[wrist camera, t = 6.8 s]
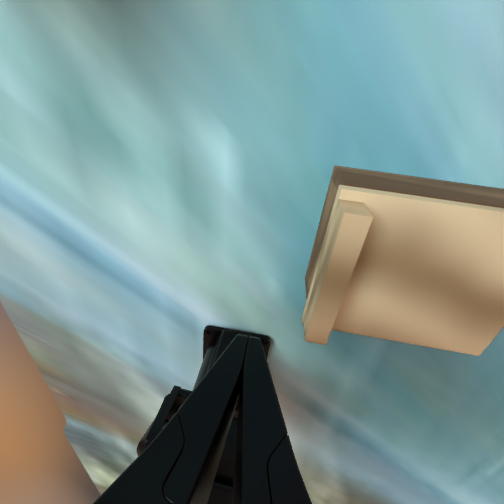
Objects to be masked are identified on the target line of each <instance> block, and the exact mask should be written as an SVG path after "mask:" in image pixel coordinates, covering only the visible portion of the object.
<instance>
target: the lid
mask: <svg viewBox="0 0 504 504" xmlns="http://www.w3.org/2000/svg"><path fill="white" fill-rule="evenodd" d="M302 325H304V329H305V341H307V342H312V343H318V344H323V345H326V343H327V341H328V338H329V335H330V332H331V330H336V331H342V332H347V333H353V334H359V335H364V336H370V337H376V338H381V339H387V340H392V341H398V342H404V343H409V344H415V345H420V346H426V347H432V348H437V349H443V350H449V351H454V352H460V353H465V354H471V355H477V356H480V354H481V353H482V352H483V351H484V350H485V348H486V347H487V346H488V345H489V344H490V342H491V341H492V340H493V339H494V338H495V337H496V335H497V334H498V333H499V332H500V331H501V329H502V328H503V327H504V208H498V207H491V206H484V205H477V204H471V203H464V202H457V201H450V200H443V199H436V198H429V197H422V196H415V195H408V194H401V193H394V192H387V191H380V190H373V189H366V188H359V187H352V186H345V185H339V187H338V190H337V194H336V198H335V201H334V205H333V208H332V212H331V215H330V219H329V223H328V226H327V230H326V233H325V237H324V240H323V244H322V248H321V251H320V255H319V258H318V262H317V265H316V269H315V273H314V276H313V280H312V283H311V287H310V291H309V294H308V298H307V301H306V305H305V308H304V312H303V316H302Z"/></svg>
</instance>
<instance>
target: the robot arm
mask: <svg viewBox="0 0 504 504" xmlns="http://www.w3.org/2000/svg"><path fill="white" fill-rule="evenodd" d="M269 346H270V338H269V337H268V336H264V335H258V334H253V333H247V332H242V331H236V330H231V329H225V328H220V327H214V326H206V327H205V329H204V338H203V363H202V366H201V368H200V371H199V374H198V377H197V380H196V383H195V386H194V389H193V391H189V390H185V389H181V387H179V386H174V387H173V389H172V391H171V393H170V394H168V395H167V396H165V398H164V401H163V403H162V405H161V408H160V410H159V412H158V414H157V416H156V418H155V419H154V421H153V422H152V424H151V425H150V427H149V428H148V430H147V431H146V433H145V434H144V436H143V437H142V439H141V440H140V442H139V444H138V447H137V454H138V458H137V459H136V460H135V461H134V462H133V463H132V464H131V465H130V466H129V467H128V468H127V469H126V470H125V471H124V472H123V473H122V474H121V475H120V476H119V477H118V478H117V479H116V480H115V481H114V482H113V483H112V485H111V486H110V487H109V488H108V489H107V490H106V491H105V492H104V493H103V494H102V495H101V496H100V497H99V498H98V499H97V500H96V501H95V502H94V503H93V504H312V502H311V500H310V497H309V495H308V492H307V490H306V487H305V484H304V482H303V479H302V476H301V474H300V471H299V468H298V465H297V462H296V459H295V456H294V452H293V449H292V446H291V442H290V439H289V436H288V435H287V434H288V433H287V429H286V426H285V422H284V419H283V415H282V412H281V408H280V405H279V401H278V398H277V394H276V391H275V387H274V384H273V380H272V377H271V374H270V370H269V367H268V363H267V356H268V351H269Z"/></svg>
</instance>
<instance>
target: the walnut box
mask: <svg viewBox="0 0 504 504" xmlns="http://www.w3.org/2000/svg"><path fill="white" fill-rule="evenodd" d="M339 185H345V186H352V187H359V188H366V189H373V190H380V191H387V192H394V193H401V194H408V195H415V196H422V197H429V198H436V199H443V200H450V201H457V202H464V203H471V204H477V205H484V206H491V207H498V208H504V189H500V188H493V187H486V186H478V185H471V184H464V183H457V182H450V181H442V180H435V179H428V178H421V177H414V176H406V175H399V174H392V173H385V172H378V171H370V170H363V169H356V168H349V167H342V166H334V169H333V173H332V177H331V181H330V184H329V188H328V192H327V196H326V200H325V204H324V207H323V211H322V215H321V219H320V223H319V227H318V230H317V234H316V238H315V242H314V246H313V250H312V253H311V257H310V261H309V265H308V269H307V273H306V277H305V283H306V299H307V298H308V294H309V291H310V287H311V283H312V280H313V276H314V273H315V269H316V265H317V262H318V258H319V255H320V251H321V248H322V244H323V240H324V237H325V233H326V230H327V226H328V223H329V219H330V215H331V212H332V208H333V205H334V201H335V198H336V194H337V190H338V187H339Z"/></svg>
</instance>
